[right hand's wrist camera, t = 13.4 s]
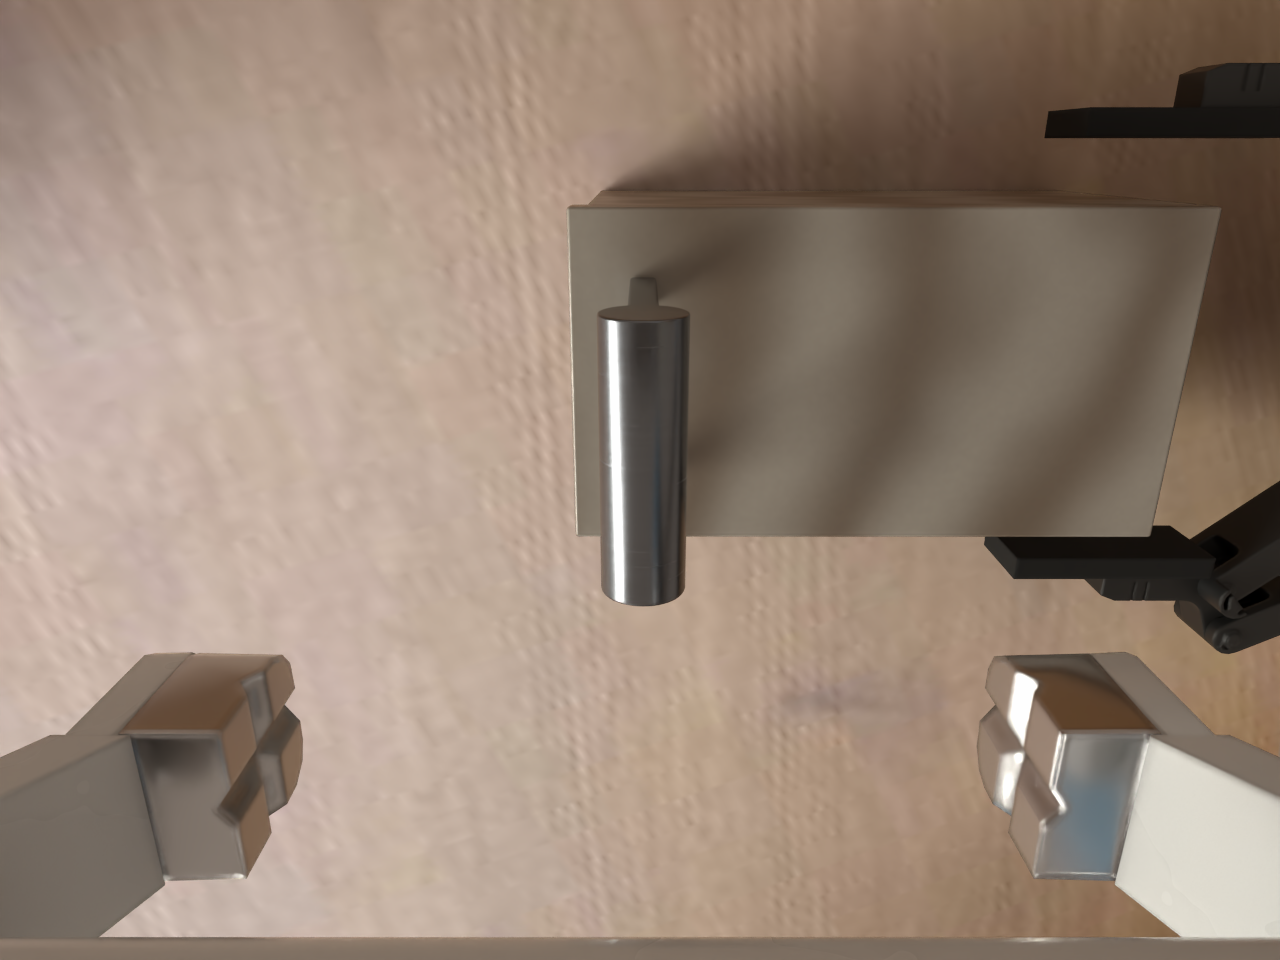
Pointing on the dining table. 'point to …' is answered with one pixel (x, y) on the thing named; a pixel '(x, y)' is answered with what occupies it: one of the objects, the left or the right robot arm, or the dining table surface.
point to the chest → (864, 198)
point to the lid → (873, 372)
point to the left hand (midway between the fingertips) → (1028, 355)
